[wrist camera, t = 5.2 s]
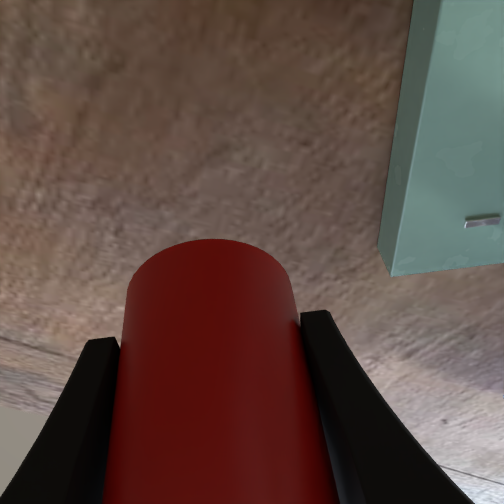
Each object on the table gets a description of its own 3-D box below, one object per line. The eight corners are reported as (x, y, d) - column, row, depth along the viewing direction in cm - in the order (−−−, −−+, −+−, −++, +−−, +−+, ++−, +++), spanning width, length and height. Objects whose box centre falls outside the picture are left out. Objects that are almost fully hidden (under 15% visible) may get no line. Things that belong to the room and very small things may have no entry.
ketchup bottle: (292, 338, 14) (366, 698, 9) (147, 356, 14) (121, 734, 8) (289, 227, 11) (401, 666, 6) (106, 249, 11) (22, 723, 5)
